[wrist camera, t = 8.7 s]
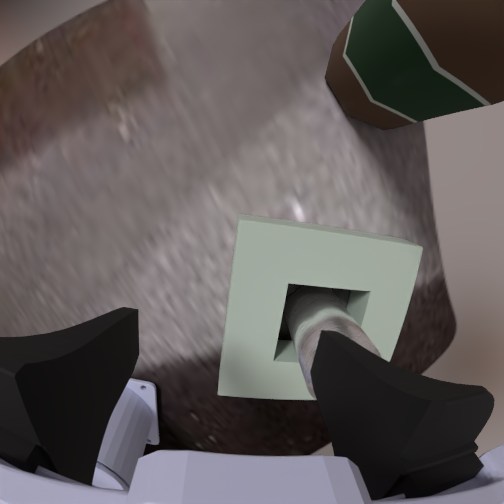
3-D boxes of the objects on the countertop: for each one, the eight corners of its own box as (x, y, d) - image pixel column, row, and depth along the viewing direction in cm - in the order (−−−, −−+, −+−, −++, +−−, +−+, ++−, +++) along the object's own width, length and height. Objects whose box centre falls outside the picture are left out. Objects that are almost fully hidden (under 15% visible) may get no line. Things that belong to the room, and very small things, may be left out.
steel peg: (279, 332, 22) (298, 404, 14) (289, 281, 21) (317, 339, 13) (331, 335, 22) (368, 403, 14) (343, 286, 21) (392, 341, 13)
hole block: (219, 370, 22) (217, 394, 19) (238, 213, 20) (238, 219, 17) (362, 376, 23) (374, 397, 20) (401, 238, 20) (423, 247, 18)
